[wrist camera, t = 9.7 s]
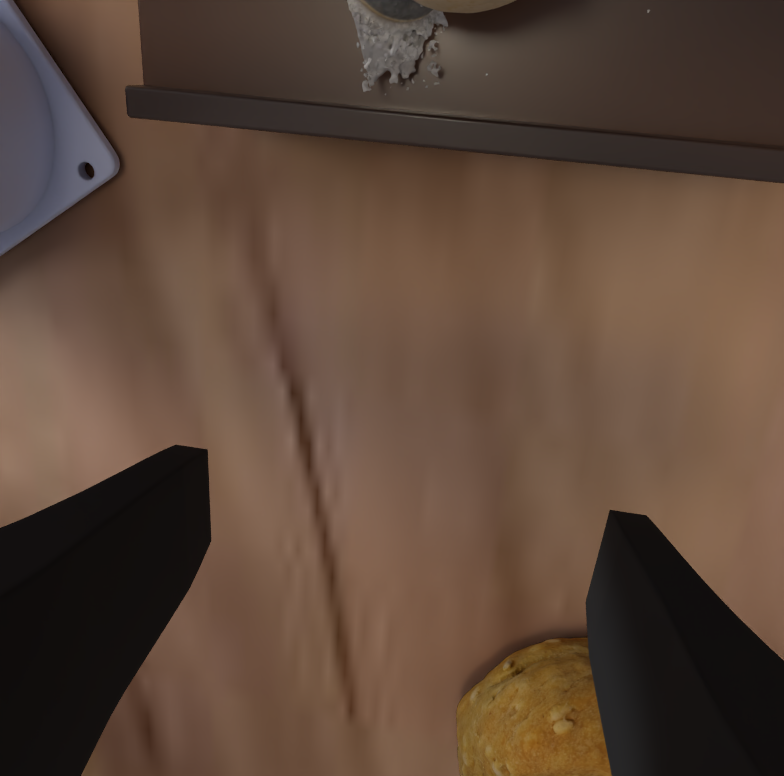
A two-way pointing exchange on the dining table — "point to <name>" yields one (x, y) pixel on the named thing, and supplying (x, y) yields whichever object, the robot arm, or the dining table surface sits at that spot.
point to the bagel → (534, 716)
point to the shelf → (489, 79)
